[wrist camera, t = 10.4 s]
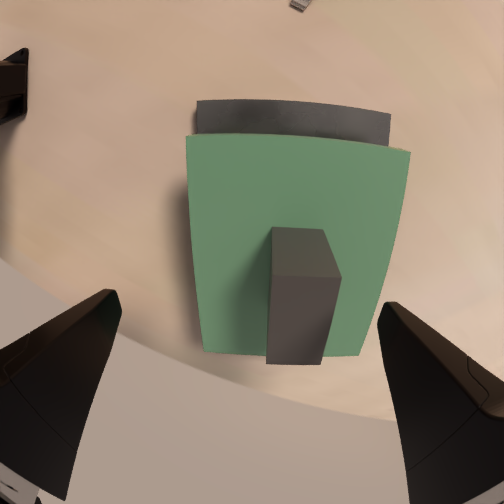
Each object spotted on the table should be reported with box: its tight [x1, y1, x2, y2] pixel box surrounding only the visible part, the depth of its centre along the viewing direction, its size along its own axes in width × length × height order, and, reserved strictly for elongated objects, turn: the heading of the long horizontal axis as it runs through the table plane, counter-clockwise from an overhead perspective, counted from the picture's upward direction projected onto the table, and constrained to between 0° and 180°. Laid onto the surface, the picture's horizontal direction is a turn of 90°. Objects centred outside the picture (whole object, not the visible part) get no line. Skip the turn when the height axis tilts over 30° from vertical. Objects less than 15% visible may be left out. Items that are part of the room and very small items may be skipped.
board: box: [186, 133, 411, 365], centre depth 14 cm, size 11×14×6 cm
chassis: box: [197, 99, 391, 146], centre depth 18 cm, size 12×18×4 cm, turn 179°
